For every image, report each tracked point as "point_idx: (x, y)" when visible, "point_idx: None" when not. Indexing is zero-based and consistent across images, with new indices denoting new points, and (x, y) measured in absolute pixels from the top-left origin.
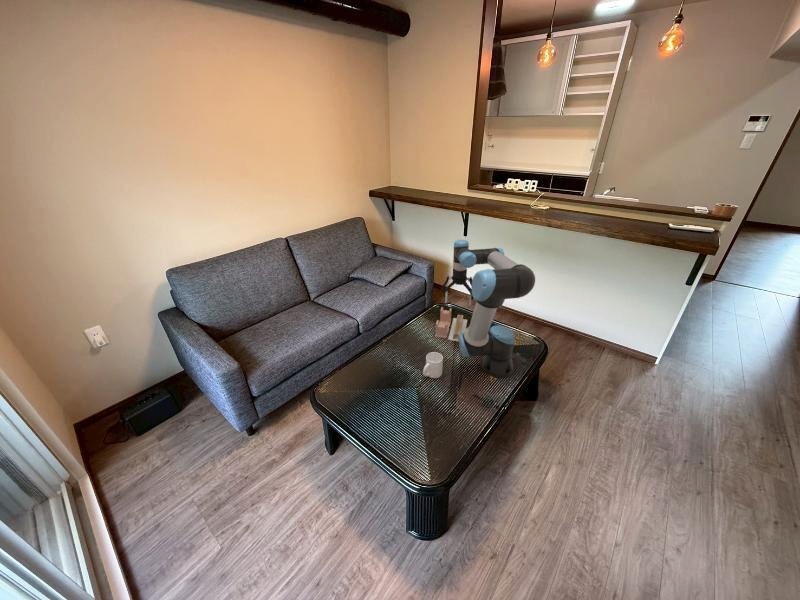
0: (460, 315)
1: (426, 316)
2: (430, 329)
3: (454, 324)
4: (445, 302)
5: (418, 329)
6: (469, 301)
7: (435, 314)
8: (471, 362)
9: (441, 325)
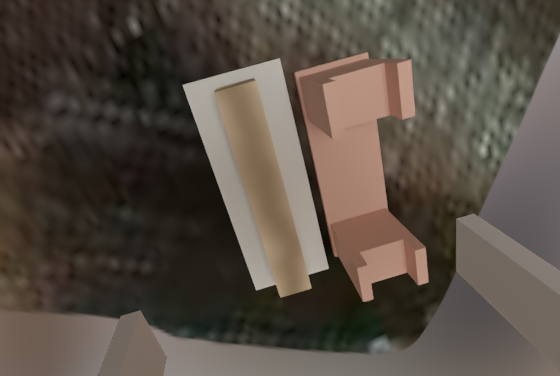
0: (294, 289)
1: None
2: None
3: (301, 219)
4: (473, 217)
5: (478, 77)
6: (119, 368)
7: None
8: None
9: (362, 96)
